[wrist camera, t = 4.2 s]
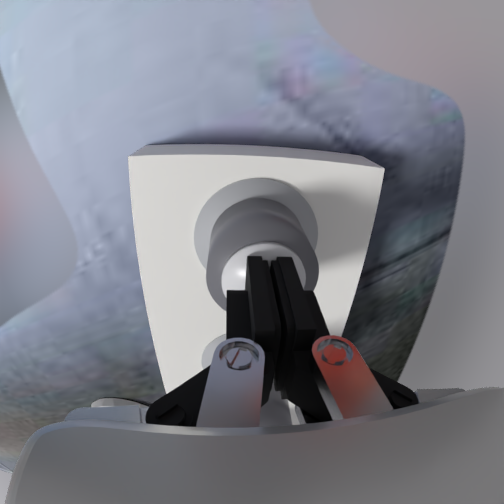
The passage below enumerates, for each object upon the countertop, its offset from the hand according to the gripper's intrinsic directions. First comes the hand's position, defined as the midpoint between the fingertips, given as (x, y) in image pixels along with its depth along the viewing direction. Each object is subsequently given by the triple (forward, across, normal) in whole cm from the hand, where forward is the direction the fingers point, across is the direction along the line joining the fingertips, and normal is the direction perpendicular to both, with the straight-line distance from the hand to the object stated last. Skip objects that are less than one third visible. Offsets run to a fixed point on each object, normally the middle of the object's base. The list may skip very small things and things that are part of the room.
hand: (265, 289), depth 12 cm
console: (+7, 0, +9) cm, 11 cm away
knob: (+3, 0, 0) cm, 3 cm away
